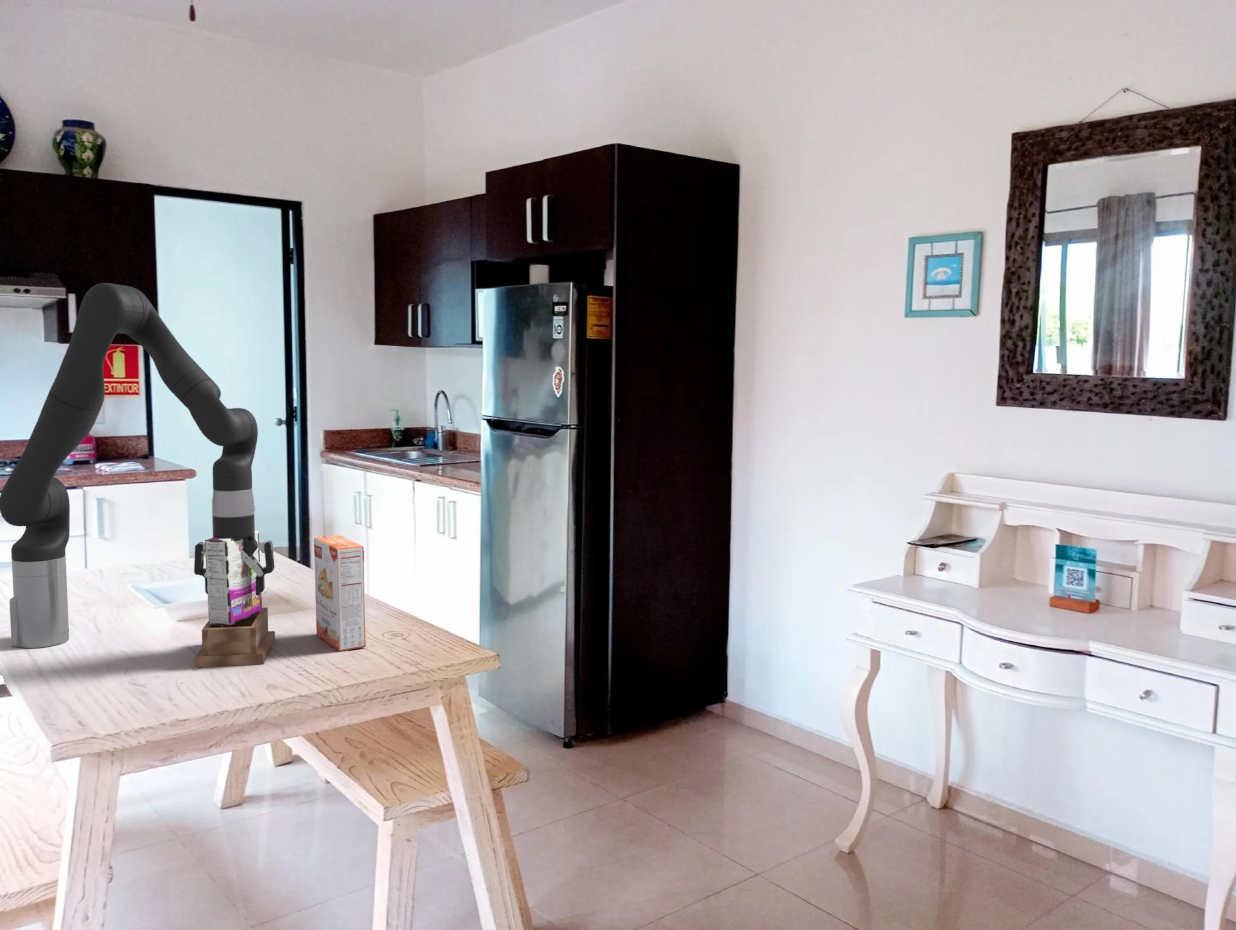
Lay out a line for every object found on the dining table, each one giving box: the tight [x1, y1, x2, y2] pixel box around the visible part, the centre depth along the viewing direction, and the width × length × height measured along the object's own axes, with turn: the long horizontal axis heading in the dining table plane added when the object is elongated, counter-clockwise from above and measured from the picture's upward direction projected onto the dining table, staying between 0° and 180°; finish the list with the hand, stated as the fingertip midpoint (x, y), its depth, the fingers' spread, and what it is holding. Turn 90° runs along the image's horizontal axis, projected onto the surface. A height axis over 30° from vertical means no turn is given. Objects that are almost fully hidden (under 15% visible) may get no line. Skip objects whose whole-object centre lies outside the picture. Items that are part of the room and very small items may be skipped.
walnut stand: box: [194, 607, 276, 668], centre depth 188 cm, size 12×16×7 cm
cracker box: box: [313, 534, 367, 652], centre depth 196 cm, size 14×6×21 cm, turn 35°
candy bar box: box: [204, 530, 263, 625], centre depth 187 cm, size 11×5×16 cm, turn 169°
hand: (235, 595), depth 187 cm, fingers open, 8 cm apart
